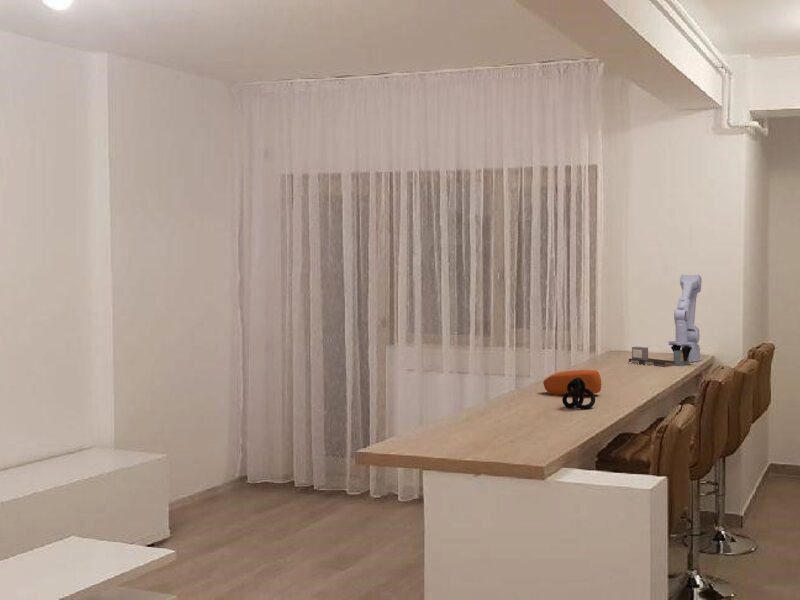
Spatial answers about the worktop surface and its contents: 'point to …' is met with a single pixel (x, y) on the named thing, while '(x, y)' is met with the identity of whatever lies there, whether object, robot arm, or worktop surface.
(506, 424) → the worktop surface
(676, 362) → the box
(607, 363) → the worktop surface
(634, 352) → the box
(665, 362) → the shelf ledge
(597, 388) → the orange rounded block
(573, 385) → the squiggle
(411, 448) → the worktop surface
